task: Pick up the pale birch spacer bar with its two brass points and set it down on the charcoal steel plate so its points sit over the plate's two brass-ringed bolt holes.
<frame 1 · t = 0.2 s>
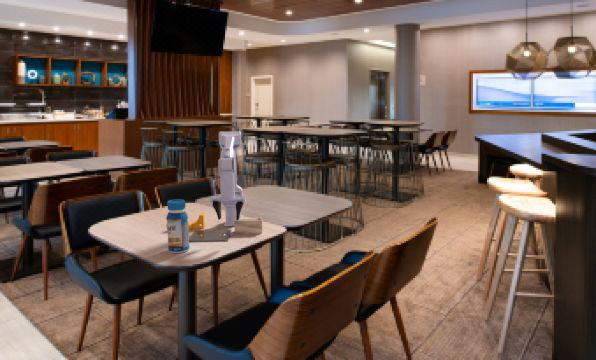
hand: (228, 219, 183), 10 cm above the table, tool pointing down, fingers open, 7 cm apart
beverage bottle: (179, 250, 176), on the table
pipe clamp: (190, 229, 204), on the table
spacer bar: (248, 232, 198), on the table
bolt plate: (210, 236, 193), on the table
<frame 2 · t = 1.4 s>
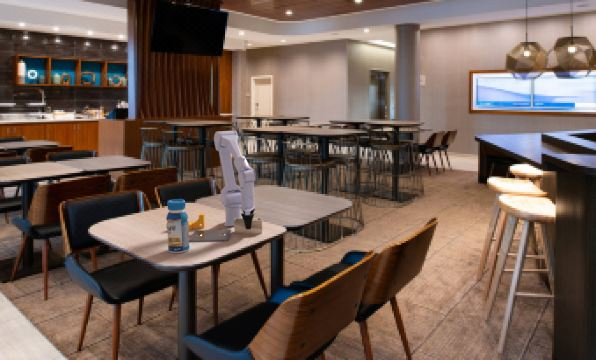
hand: (248, 226, 198), 3 cm above the table, tool pointing down, fingers open, 7 cm apart
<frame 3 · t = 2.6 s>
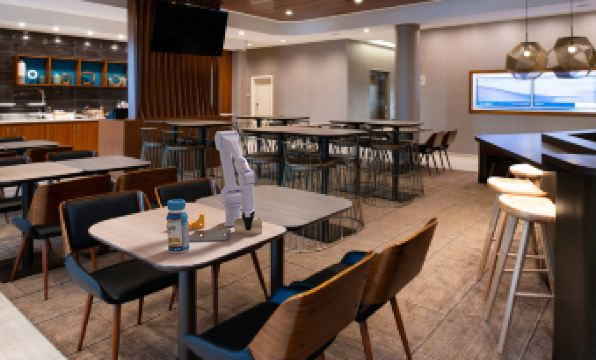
hand: (248, 228, 198), 2 cm above the table, tool pointing down, fingers closed on spacer bar, 4 cm apart
spacer bar: (248, 232, 198), on the table, touching gripper
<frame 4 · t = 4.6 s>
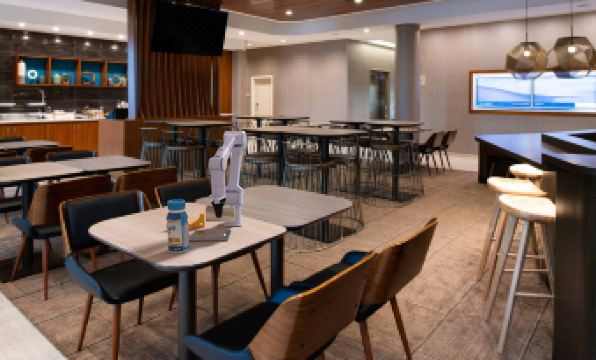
hand: (219, 216, 192), 9 cm above the table, tool pointing down, fingers closed on spacer bar, 4 cm apart
spacer bar: (220, 220, 193), point 7 cm above the table, touching gripper
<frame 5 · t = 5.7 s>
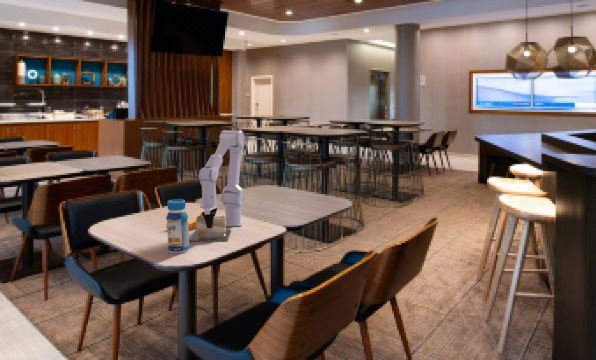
hand: (210, 226, 192), 4 cm above the table, tool pointing down, fingers closed on spacer bar, 4 cm apart
spacer bar: (211, 230, 192), point 3 cm above the table, touching gripper
when the fingers open (3 cm above the table, at t = 6.8 s): spacer bar stays where it is, resting on bolt plate.
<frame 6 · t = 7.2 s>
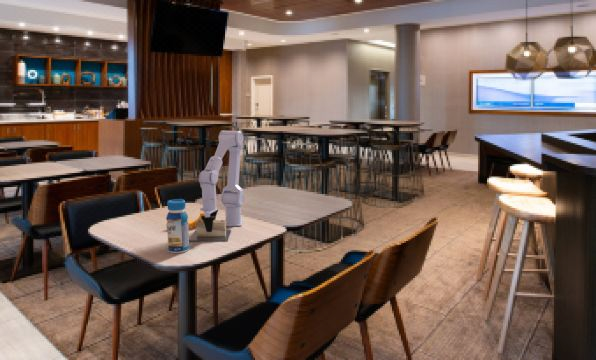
hand: (210, 229, 192), 3 cm above the table, tool pointing down, fingers open, 7 cm apart
spacer bar: (211, 234, 193), point 1 cm above the table, touching bolt plate
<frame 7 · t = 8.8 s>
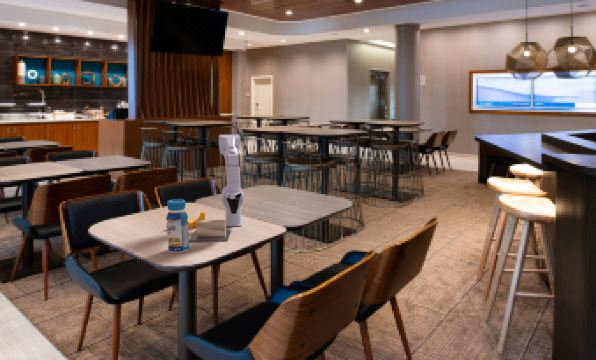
hand: (234, 211, 197), 9 cm above the table, tool pointing down, fingers open, 7 cm apart
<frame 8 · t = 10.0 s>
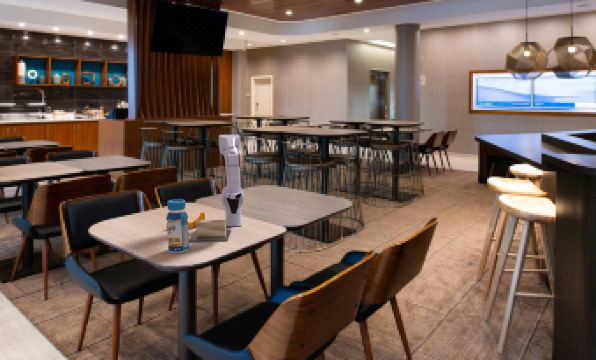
hand: (234, 211, 197), 9 cm above the table, tool pointing down, fingers open, 7 cm apart
at the end: spacer bar 0.4 cm off-centre on the bolt plate, point 0.6 cm above the bolt plate's base; spacer bar tilted 0°; the gripper is holding nothing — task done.
